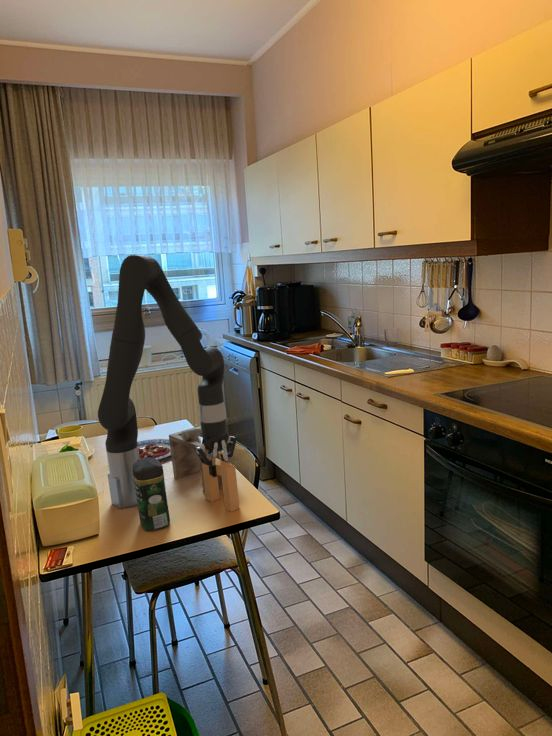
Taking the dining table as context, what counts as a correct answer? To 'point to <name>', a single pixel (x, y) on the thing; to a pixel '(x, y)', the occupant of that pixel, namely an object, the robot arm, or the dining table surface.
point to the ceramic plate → (154, 448)
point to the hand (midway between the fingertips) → (219, 474)
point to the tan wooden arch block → (227, 481)
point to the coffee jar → (151, 493)
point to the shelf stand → (188, 454)
